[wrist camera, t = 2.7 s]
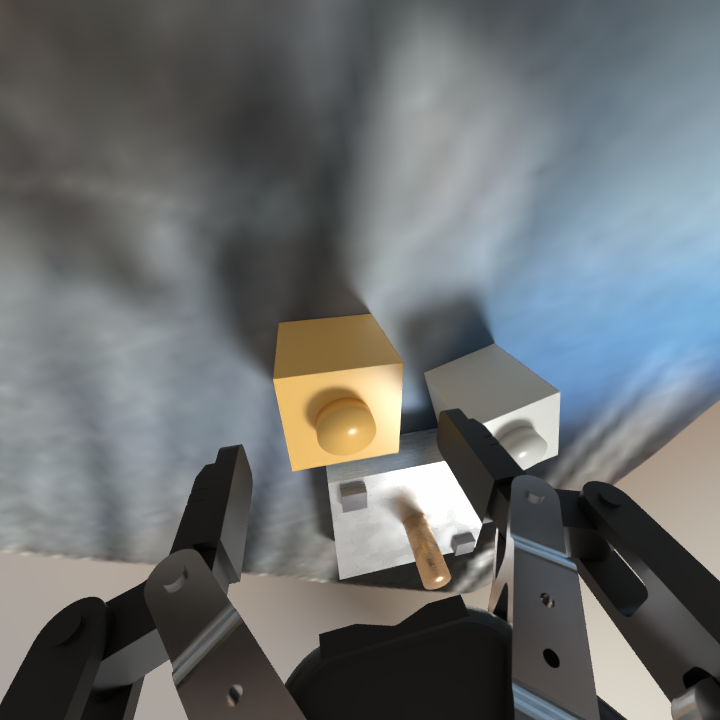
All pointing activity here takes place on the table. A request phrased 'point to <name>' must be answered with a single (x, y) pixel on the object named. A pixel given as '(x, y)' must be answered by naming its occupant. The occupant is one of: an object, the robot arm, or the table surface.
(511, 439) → the grey cap
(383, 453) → the yellow knobbed cube
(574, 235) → the table surface
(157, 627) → the robot arm
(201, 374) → the table surface
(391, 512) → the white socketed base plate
